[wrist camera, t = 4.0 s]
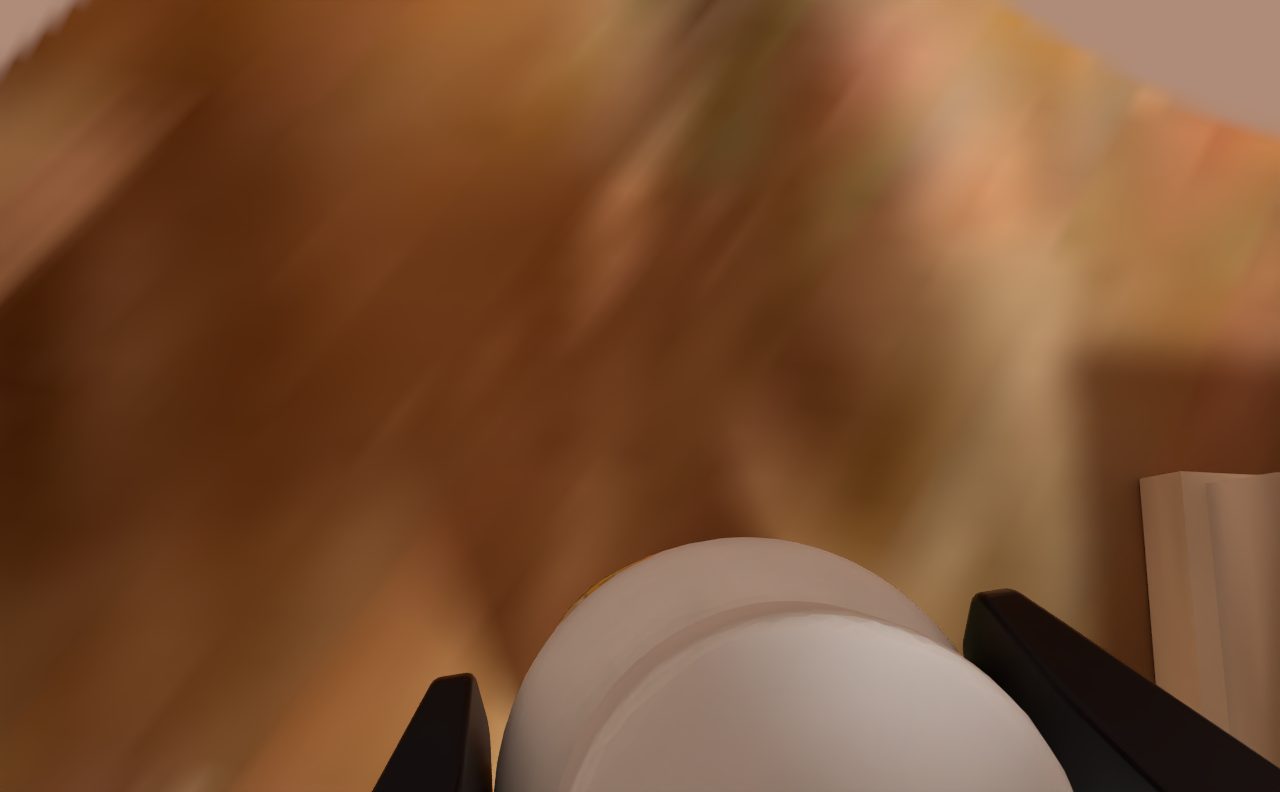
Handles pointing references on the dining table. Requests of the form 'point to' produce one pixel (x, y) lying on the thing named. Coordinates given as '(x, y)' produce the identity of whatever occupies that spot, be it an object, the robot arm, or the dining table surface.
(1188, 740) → the robot arm
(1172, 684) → the candle holder
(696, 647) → the supplement bottle
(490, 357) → the dining table surface
